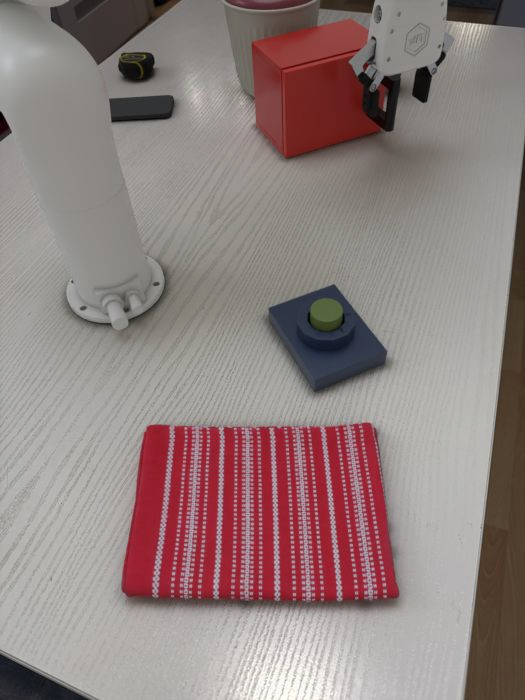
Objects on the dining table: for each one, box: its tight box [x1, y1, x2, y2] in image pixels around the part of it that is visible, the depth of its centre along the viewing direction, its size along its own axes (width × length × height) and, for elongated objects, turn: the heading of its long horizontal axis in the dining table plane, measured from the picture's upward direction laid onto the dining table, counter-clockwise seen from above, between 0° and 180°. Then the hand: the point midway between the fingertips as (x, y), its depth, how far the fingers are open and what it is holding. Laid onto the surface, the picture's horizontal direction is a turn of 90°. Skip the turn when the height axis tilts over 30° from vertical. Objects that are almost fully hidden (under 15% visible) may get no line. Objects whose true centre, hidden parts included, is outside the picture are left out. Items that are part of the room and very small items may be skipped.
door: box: [282, 51, 402, 159], centre depth 84 cm, size 7×18×14 cm, turn 114°
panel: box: [267, 283, 388, 393], centre depth 62 cm, size 12×9×4 cm
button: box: [310, 298, 343, 332], centre depth 61 cm, size 4×4×2 cm
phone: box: [109, 94, 175, 121], centre depth 102 cm, size 7×1×15 cm
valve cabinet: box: [251, 18, 369, 156], centre depth 90 cm, size 11×18×14 cm, turn 114°
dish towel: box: [121, 421, 400, 603], centre depth 50 cm, size 17×24×3 cm
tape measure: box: [117, 51, 156, 80], centre depth 110 cm, size 7×7×4 cm
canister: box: [219, 0, 321, 98], centre depth 97 cm, size 18×18×21 cm
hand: (394, 105), depth 83 cm, fingers open, 8 cm apart
